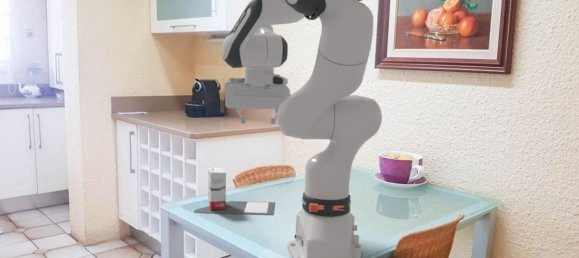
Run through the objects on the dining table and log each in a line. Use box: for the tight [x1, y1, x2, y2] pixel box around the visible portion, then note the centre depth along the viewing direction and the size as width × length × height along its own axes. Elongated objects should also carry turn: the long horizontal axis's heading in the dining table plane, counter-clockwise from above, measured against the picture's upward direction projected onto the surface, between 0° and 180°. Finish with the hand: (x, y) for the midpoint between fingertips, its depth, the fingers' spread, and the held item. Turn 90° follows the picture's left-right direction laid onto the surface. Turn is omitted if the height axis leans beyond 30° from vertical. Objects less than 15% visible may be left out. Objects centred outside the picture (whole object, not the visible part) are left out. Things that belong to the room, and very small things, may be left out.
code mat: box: [193, 200, 276, 216], centre depth 145 cm, size 13×24×1 cm, turn 89°
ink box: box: [207, 166, 227, 210], centre depth 145 cm, size 9×5×12 cm, turn 15°
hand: (258, 123), depth 142 cm, fingers open, 8 cm apart
